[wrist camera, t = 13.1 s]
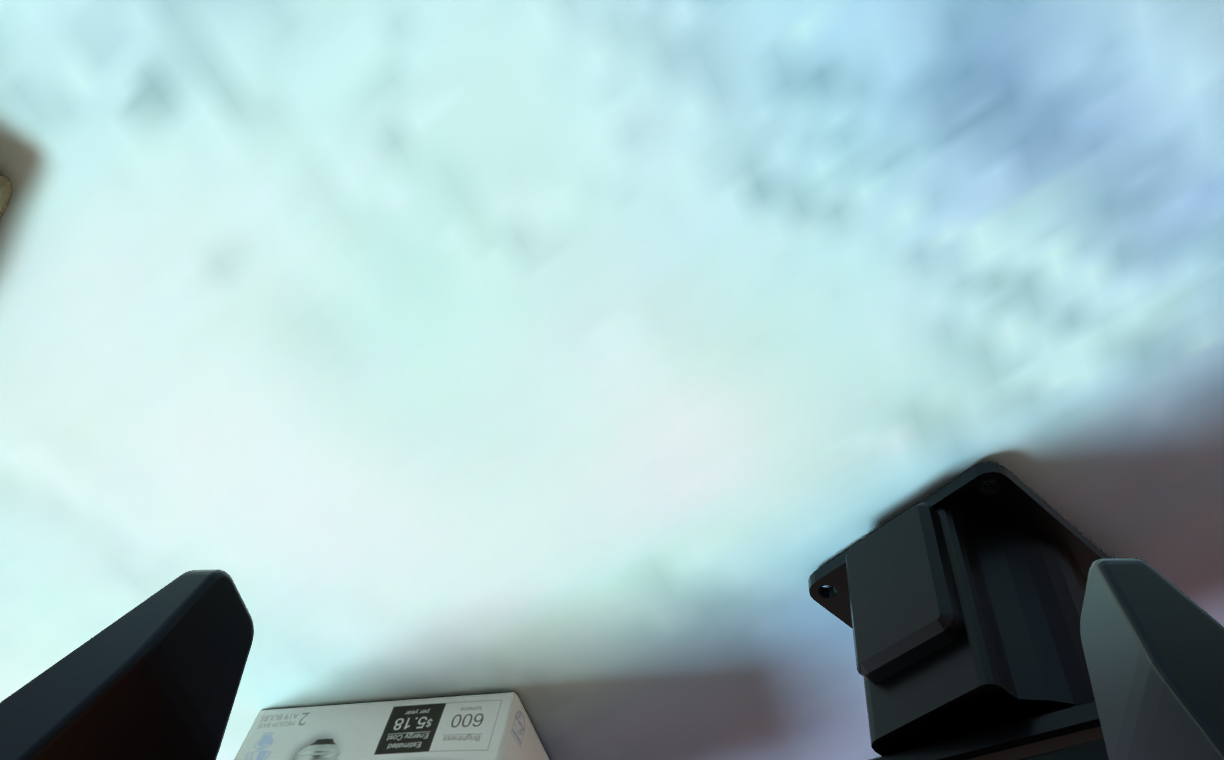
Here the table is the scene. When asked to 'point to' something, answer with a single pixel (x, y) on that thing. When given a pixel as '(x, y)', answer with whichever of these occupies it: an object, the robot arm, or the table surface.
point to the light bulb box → (398, 731)
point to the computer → (4, 193)
